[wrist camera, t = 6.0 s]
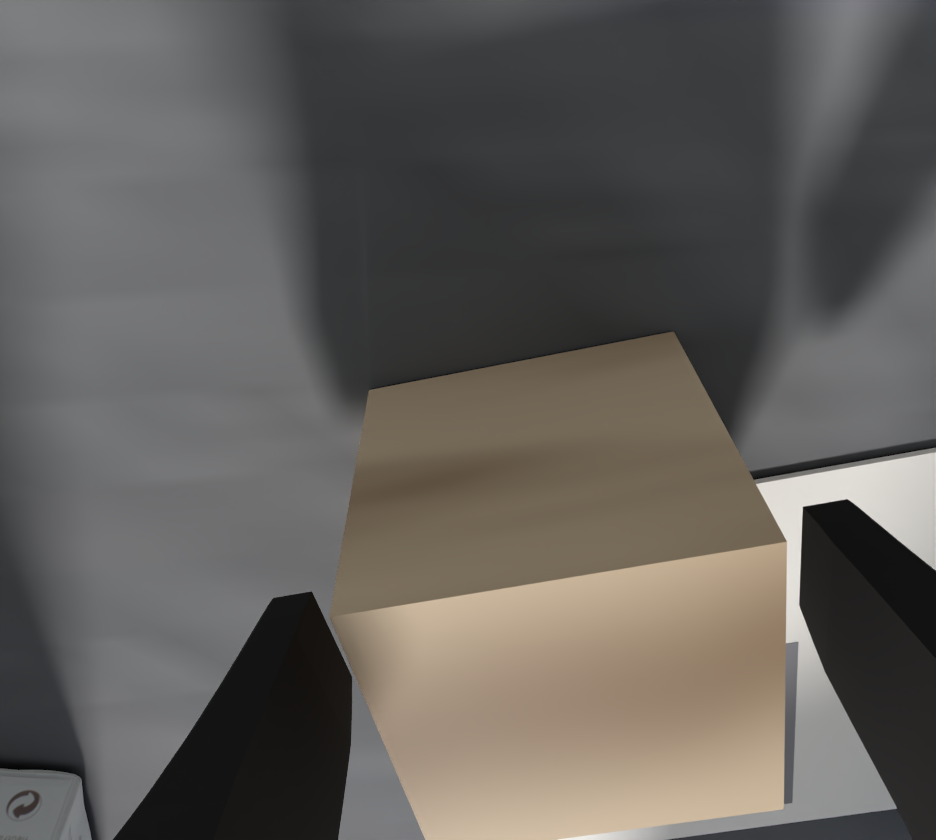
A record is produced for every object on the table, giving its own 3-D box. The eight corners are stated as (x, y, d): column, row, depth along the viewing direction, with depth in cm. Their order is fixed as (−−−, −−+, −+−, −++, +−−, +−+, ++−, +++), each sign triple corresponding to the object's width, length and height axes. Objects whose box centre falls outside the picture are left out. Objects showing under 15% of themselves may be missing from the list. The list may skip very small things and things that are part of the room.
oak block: (690, 561, 15) (783, 809, 11) (437, 602, 16) (432, 855, 11) (673, 331, 12) (786, 541, 8) (369, 390, 13) (329, 617, 9)
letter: (901, 803, 21) (904, 808, 20) (561, 849, 21) (561, 853, 21) (968, 441, 14) (972, 446, 14) (469, 530, 15) (469, 535, 15)
